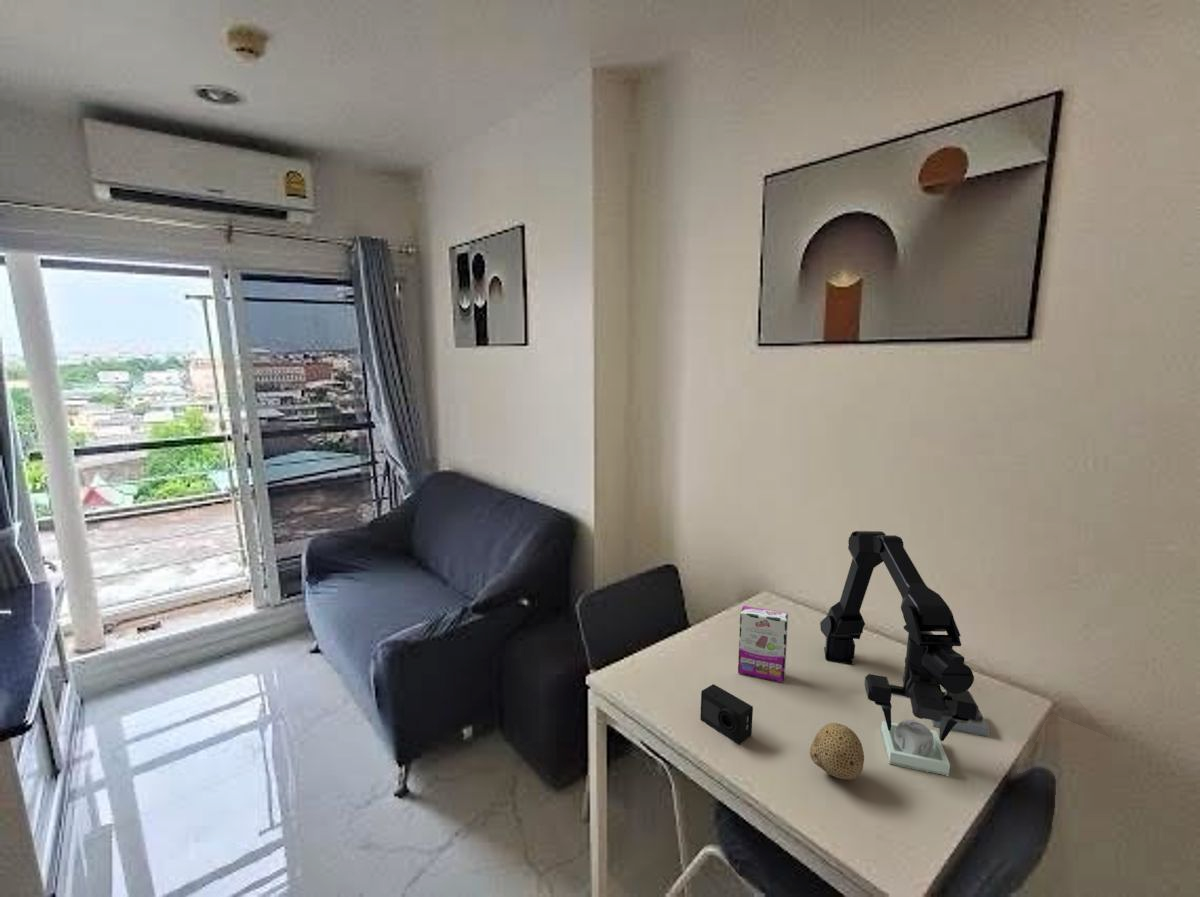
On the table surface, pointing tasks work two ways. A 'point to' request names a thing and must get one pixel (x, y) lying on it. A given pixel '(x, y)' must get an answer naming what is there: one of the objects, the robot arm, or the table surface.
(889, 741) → the tray
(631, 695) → the table surface
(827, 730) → the natural sponge
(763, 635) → the candy bar box
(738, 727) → the digital camera
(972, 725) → the call bell
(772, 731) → the table surface
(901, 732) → the die
